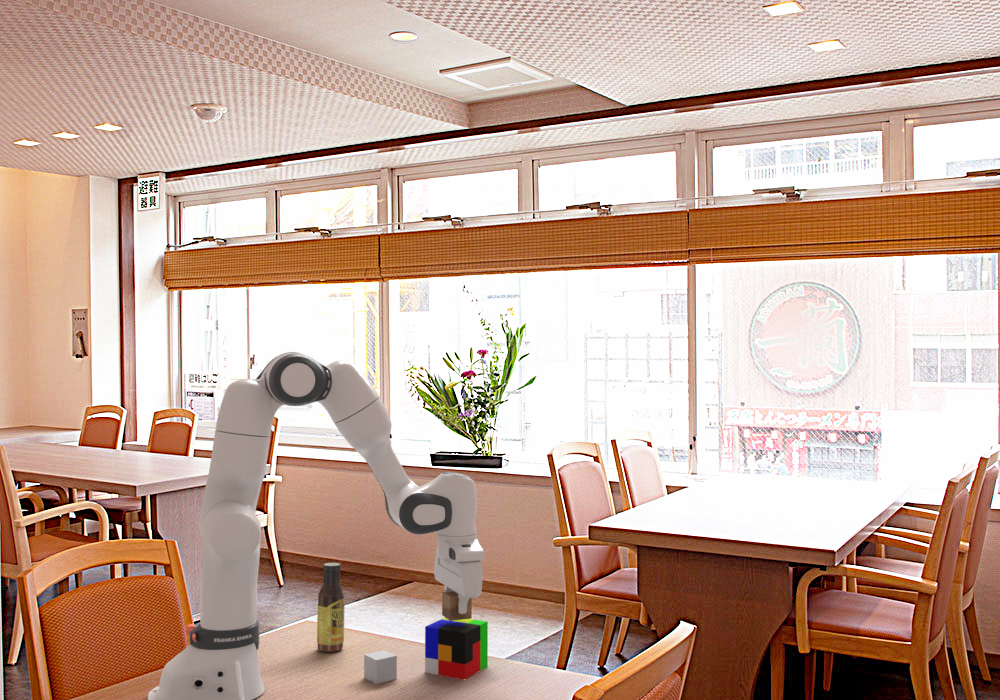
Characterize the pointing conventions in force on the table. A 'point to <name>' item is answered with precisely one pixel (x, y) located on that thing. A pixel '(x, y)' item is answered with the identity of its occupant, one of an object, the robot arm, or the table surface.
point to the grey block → (380, 666)
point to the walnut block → (454, 607)
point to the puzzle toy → (456, 647)
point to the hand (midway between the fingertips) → (456, 609)
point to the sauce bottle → (330, 610)
